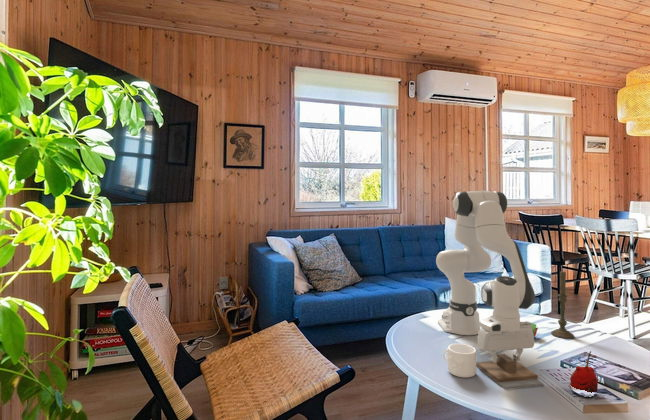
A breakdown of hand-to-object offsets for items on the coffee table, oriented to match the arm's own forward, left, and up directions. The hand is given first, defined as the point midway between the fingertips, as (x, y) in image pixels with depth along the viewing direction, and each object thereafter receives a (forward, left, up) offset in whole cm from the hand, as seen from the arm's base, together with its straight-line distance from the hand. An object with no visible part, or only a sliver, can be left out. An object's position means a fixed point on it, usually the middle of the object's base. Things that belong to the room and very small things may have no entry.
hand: (506, 360), depth 137 cm
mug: (-4, -16, -5) cm, 17 cm away
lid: (0, 0, -4) cm, 4 cm away
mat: (0, 0, -5) cm, 5 cm away
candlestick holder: (-31, +49, -5) cm, 58 cm away
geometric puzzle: (-31, +33, -5) cm, 46 cm away
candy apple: (+17, +16, -5) cm, 24 cm away
